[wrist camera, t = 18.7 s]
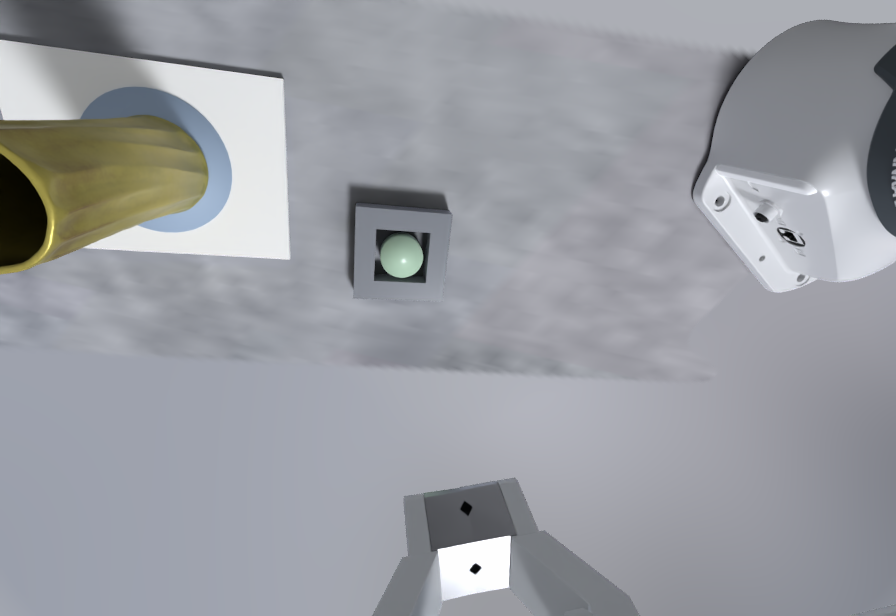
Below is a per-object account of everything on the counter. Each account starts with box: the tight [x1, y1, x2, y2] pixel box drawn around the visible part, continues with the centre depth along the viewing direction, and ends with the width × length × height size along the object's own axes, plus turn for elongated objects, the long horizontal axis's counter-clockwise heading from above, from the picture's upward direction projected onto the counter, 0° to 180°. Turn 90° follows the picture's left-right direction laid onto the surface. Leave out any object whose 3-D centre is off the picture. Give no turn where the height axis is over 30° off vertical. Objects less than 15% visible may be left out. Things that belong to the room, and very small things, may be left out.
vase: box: [0, 115, 209, 274], centre depth 20 cm, size 6×6×14 cm
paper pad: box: [0, 40, 291, 259], centre depth 27 cm, size 16×12×1 cm
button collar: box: [353, 203, 453, 302], centre depth 32 cm, size 7×7×2 cm
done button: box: [380, 232, 423, 278], centre depth 32 cm, size 3×3×1 cm
